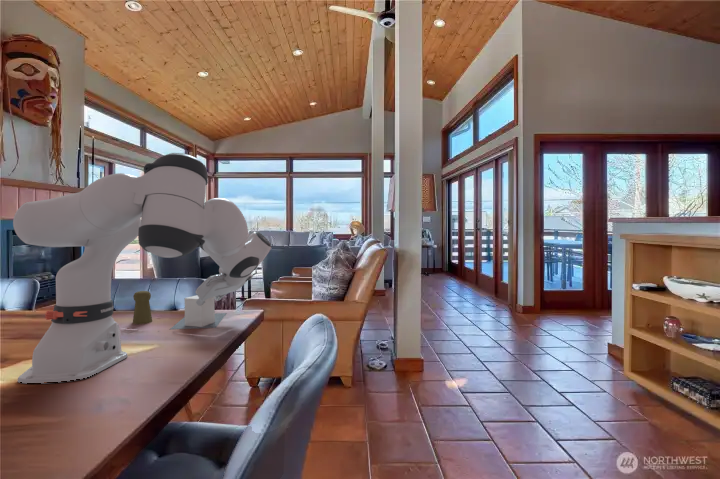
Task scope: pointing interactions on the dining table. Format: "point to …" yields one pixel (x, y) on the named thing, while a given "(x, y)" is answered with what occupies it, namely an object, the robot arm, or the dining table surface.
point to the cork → (142, 308)
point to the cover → (199, 312)
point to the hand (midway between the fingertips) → (208, 301)
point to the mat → (213, 325)
